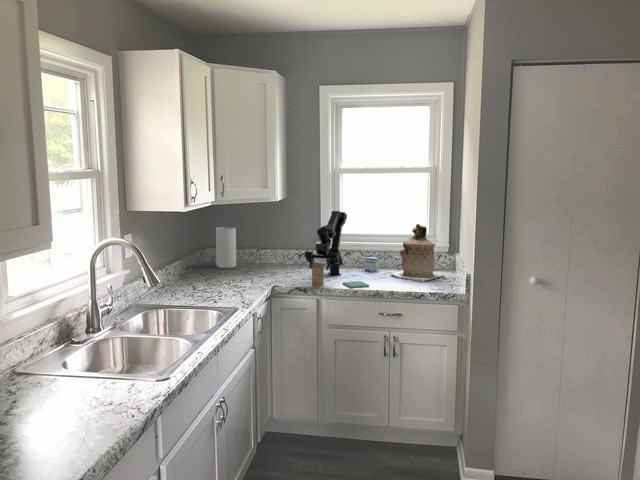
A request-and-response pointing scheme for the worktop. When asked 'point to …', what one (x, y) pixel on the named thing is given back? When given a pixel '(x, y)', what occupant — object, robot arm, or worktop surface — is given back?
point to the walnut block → (317, 274)
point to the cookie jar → (418, 257)
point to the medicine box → (371, 264)
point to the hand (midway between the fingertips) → (318, 269)
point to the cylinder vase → (226, 247)
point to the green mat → (355, 284)
